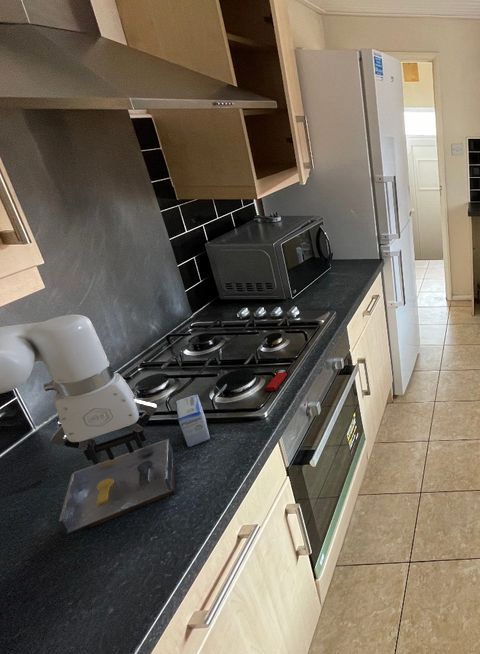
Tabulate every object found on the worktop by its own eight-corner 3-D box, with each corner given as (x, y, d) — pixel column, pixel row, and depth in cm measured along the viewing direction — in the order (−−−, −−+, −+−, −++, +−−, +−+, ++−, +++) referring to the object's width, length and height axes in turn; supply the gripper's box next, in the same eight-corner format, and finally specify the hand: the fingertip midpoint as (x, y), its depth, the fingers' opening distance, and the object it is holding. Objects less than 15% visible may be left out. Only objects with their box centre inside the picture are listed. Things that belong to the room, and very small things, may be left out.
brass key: (93, 506, 77) (92, 504, 77) (98, 484, 82) (97, 482, 81) (111, 499, 79) (110, 497, 78) (114, 477, 83) (113, 476, 83)
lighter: (264, 387, 115) (278, 369, 123) (265, 390, 116) (279, 373, 123) (275, 387, 115) (288, 369, 123) (276, 390, 116) (289, 373, 123)
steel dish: (66, 534, 73) (47, 503, 70) (79, 483, 82) (63, 453, 79) (172, 491, 81) (159, 461, 78) (172, 448, 90) (161, 421, 87)
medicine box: (185, 428, 102) (174, 400, 99) (206, 420, 105) (197, 393, 102) (188, 448, 97) (176, 419, 94) (211, 439, 100) (200, 410, 96)
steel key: (136, 486, 81) (135, 484, 81) (138, 465, 86) (137, 464, 86) (151, 480, 83) (151, 478, 82) (153, 460, 87) (152, 458, 87)
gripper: (11, 409, 69) (56, 486, 77) (144, 372, 79) (173, 443, 86) (23, 386, 75) (64, 459, 82) (146, 354, 85) (173, 422, 92)
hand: (120, 451), depth 84 cm, fingers closed on steel dish, 6 cm apart
